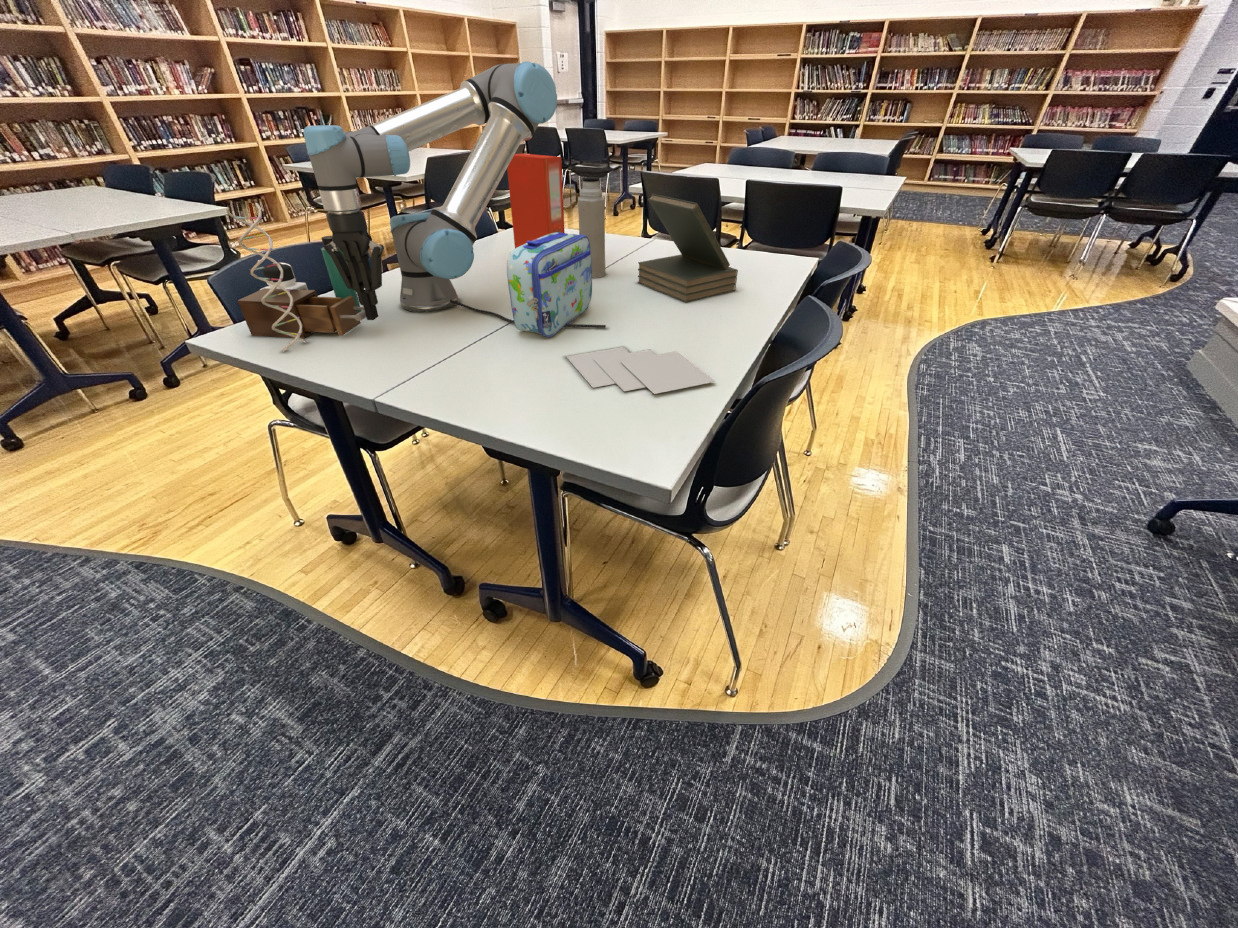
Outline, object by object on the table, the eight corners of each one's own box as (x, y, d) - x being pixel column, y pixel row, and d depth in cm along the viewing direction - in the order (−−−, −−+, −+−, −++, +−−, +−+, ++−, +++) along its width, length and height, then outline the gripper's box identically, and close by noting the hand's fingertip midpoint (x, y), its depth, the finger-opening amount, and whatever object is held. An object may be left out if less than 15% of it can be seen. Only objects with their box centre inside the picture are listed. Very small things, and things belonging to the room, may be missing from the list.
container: (296, 321, 136) (277, 269, 129) (270, 319, 137) (250, 267, 130) (316, 311, 142) (299, 261, 135) (290, 309, 143) (273, 259, 136)
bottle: (365, 309, 144) (344, 235, 133) (355, 316, 139) (333, 239, 128) (347, 309, 144) (325, 234, 133) (336, 315, 140) (313, 239, 129)
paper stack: (609, 406, 99) (609, 403, 99) (565, 356, 118) (565, 353, 118) (715, 384, 107) (716, 381, 107) (659, 340, 126) (659, 338, 125)
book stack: (735, 291, 158) (747, 198, 144) (685, 302, 149) (692, 205, 135) (685, 273, 174) (691, 188, 159) (637, 283, 165) (639, 193, 150)
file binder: (532, 254, 194) (523, 153, 176) (566, 262, 185) (561, 156, 167) (515, 258, 189) (505, 155, 171) (549, 266, 180) (542, 158, 162)
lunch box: (546, 344, 124) (538, 250, 112) (508, 336, 128) (497, 245, 116) (598, 310, 143) (596, 227, 131) (564, 305, 147) (559, 223, 135)
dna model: (290, 355, 119) (234, 208, 101) (273, 349, 121) (215, 205, 104) (317, 345, 123) (268, 203, 106) (299, 339, 126) (249, 200, 109)
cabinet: (326, 324, 135) (315, 290, 130) (304, 338, 127) (291, 302, 122) (276, 322, 136) (263, 288, 131) (251, 336, 128) (236, 300, 123)
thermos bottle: (575, 275, 171) (571, 177, 155) (591, 270, 177) (588, 175, 161) (595, 279, 168) (592, 180, 152) (610, 273, 173) (609, 177, 157)
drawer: (381, 324, 132) (374, 296, 128) (364, 336, 125) (356, 308, 122) (313, 321, 134) (304, 294, 130) (293, 333, 127) (283, 305, 123)
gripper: (381, 208, 116) (405, 314, 130) (324, 207, 117) (354, 312, 131) (364, 214, 110) (392, 324, 123) (305, 213, 111) (338, 322, 124)
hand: (373, 318), depth 127 cm, fingers closed
